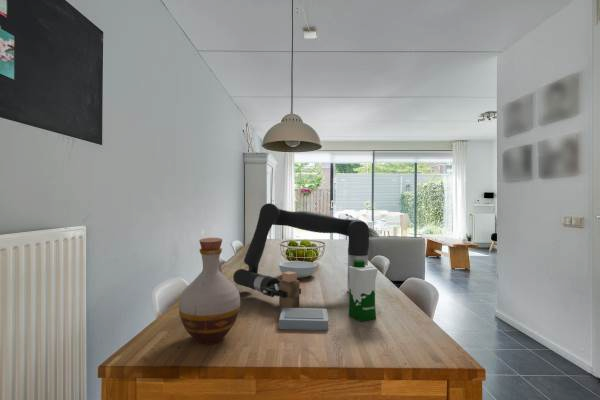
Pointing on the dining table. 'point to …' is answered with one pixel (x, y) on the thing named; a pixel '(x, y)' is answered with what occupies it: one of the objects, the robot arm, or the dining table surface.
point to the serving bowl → (298, 268)
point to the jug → (209, 298)
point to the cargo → (289, 276)
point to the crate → (289, 294)
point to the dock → (303, 319)
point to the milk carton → (362, 291)
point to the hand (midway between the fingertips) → (293, 293)
